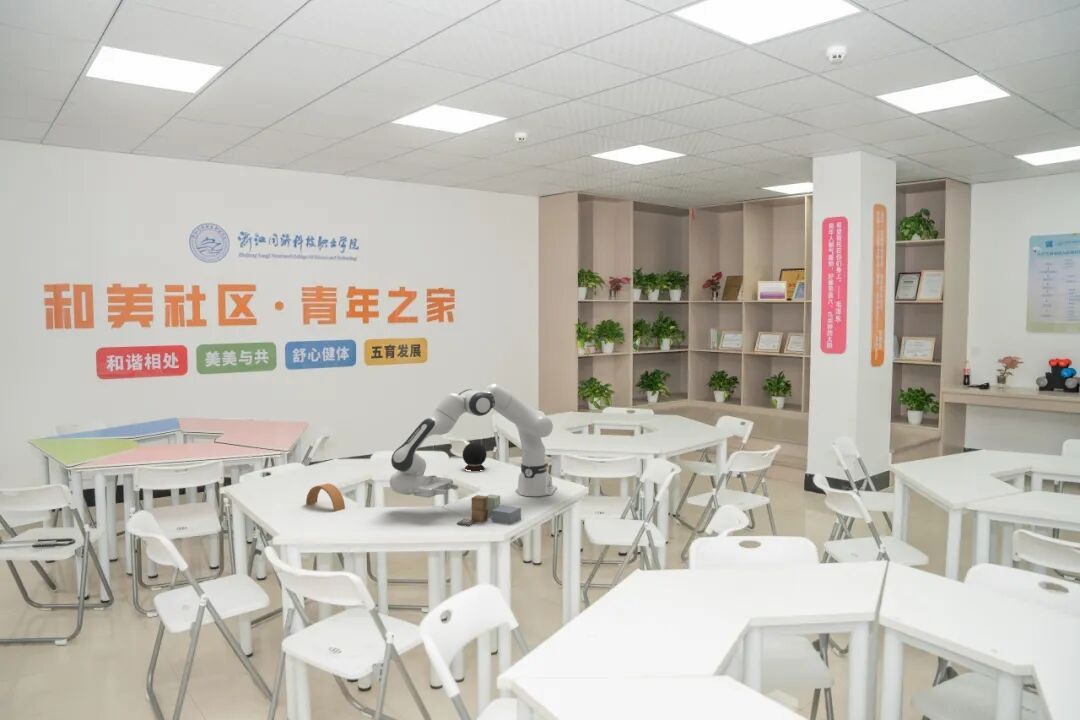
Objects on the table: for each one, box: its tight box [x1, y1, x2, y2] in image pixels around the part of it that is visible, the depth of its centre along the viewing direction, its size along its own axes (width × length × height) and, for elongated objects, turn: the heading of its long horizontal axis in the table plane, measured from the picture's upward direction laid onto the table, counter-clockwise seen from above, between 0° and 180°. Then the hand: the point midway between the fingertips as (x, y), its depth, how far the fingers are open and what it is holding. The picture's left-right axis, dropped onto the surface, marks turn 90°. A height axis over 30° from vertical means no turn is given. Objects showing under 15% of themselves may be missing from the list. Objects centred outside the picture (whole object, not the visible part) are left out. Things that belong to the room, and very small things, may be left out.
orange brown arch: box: [305, 483, 346, 512], centre depth 329 cm, size 6×20×10 cm, turn 54°
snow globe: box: [461, 442, 488, 472], centre depth 403 cm, size 13×13×15 cm
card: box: [456, 518, 477, 527], centre depth 303 cm, size 6×6×1 cm
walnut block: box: [471, 494, 489, 524], centre depth 308 cm, size 5×5×10 cm
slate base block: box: [491, 504, 522, 525], centre depth 308 cm, size 9×9×5 cm
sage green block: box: [487, 494, 501, 517], centre depth 316 cm, size 5×5×8 cm
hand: (451, 489), depth 312 cm, fingers open, 8 cm apart
